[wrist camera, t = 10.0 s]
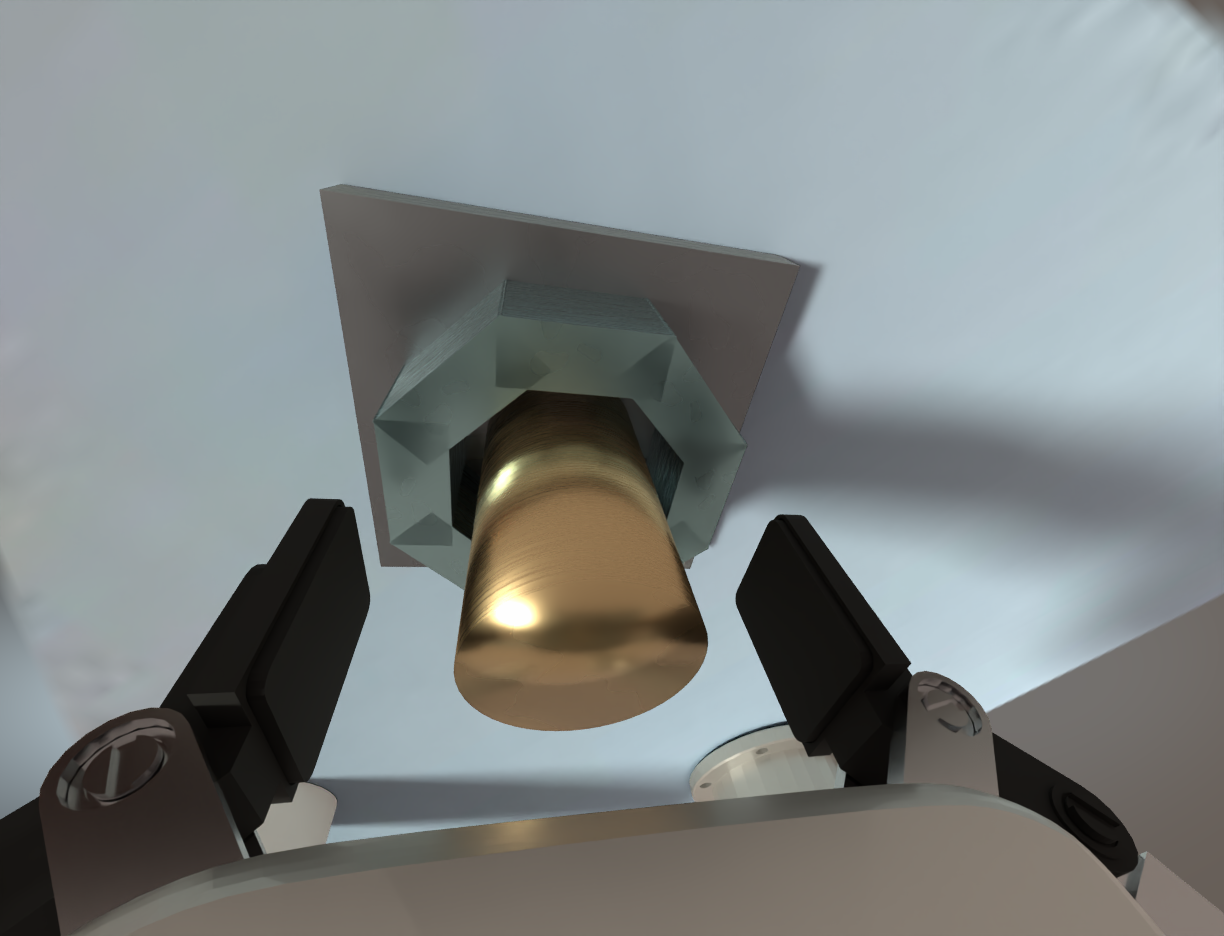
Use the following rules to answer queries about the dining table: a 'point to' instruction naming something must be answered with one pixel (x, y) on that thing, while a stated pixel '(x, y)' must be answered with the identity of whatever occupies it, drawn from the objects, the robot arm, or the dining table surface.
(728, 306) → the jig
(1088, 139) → the dining table surface
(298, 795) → the cylindrical container
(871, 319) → the dining table surface
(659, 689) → the gold round-topped cylinder
